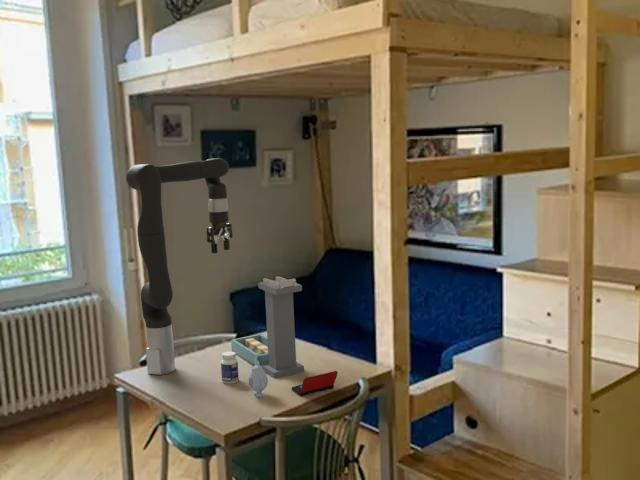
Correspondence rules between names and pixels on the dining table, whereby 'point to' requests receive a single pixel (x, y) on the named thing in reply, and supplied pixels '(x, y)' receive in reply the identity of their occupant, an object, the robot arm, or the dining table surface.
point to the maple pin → (256, 346)
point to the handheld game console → (316, 384)
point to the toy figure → (258, 379)
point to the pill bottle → (229, 368)
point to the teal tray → (248, 354)
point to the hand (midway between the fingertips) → (220, 251)
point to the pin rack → (280, 326)
